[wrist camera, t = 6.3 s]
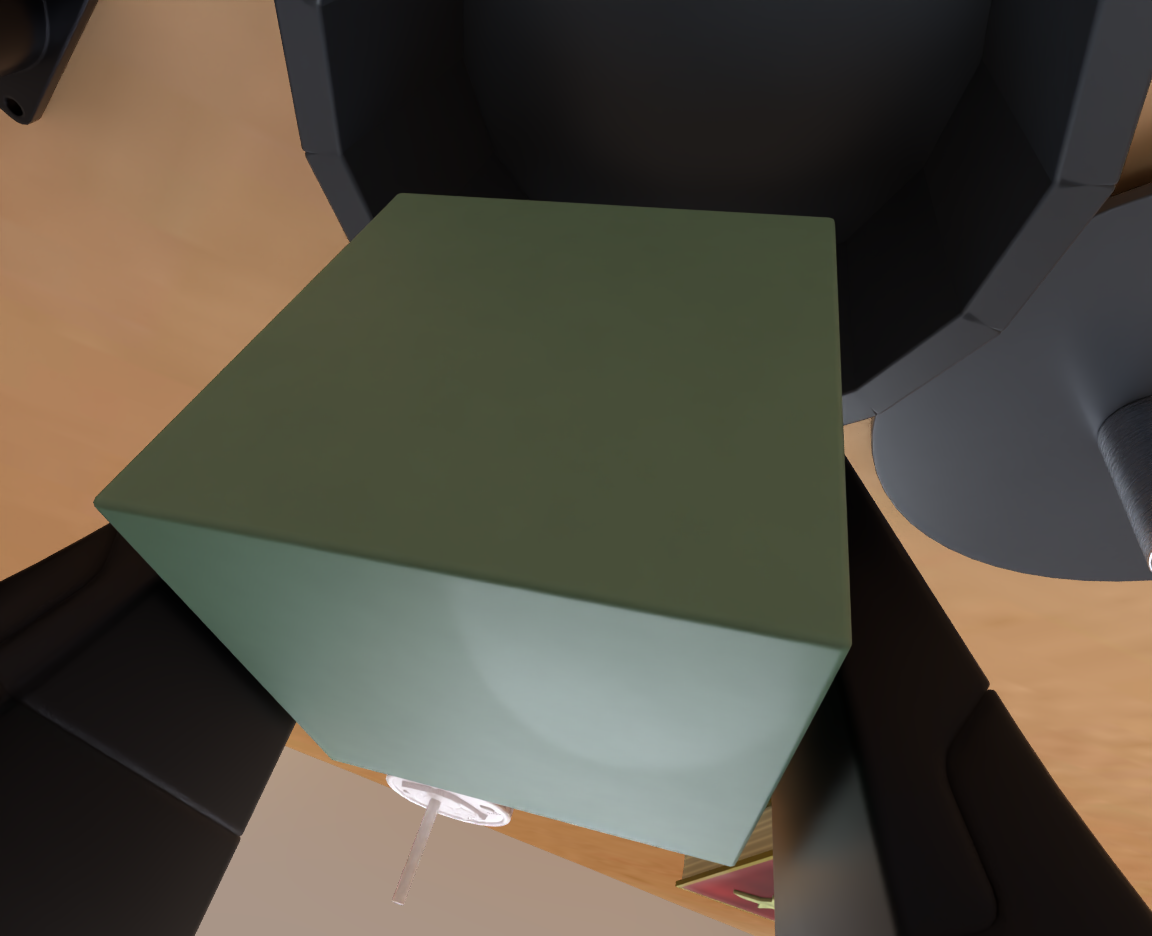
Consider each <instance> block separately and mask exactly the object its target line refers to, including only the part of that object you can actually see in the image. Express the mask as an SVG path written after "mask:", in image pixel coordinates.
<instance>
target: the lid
mask: <svg viewBox="0 0 1152 936" xmlns="http://www.w3.org/2000/svg"><path fill="white" fill-rule="evenodd" d="M871 447H872V455H873V460H874V465H875V469H876V473H877V476H878V478H879V480H880V482H881V485H882V487H883V489H884V491H885V493H886V494H887V496H888V497H889V499H890V500H891V502H892V503H893V504H894V506H895V507H896V509H897V510H898V511H899V512H900V513H901V514H902V515H903V516H904V517H905V518H906V519H907V520H908V521H909V522H910V523H911V524H912V525H914V526H915V527H916V528H917V529H919V530H920V531H921V532H923V533H924V534H925V535H927V536H928V537H930V538H931V539H933V540H935V541H936V542H938V543H940V544H942V545H943V546H945V547H947V548H948V549H951V550H953V551H955V552H958V553H960V554H962V555H964V556H967V557H969V558H971V559H974V560H977V561H980V562H983V563H986V564H989V565H992V566H995V567H999V568H1003V569H1008V570H1012V571H1016V572H1020V573H1025V574H1031V575H1038V576H1044V577H1050V578H1059V579H1071V580H1082V581H1145V580H1152V183H1149V184H1146V185H1143V186H1141V187H1138V188H1135V189H1132V190H1129V191H1127V192H1124V193H1121V194H1118V195H1115V196H1113V197H1110V198H1108V199H1107V200H1106V201H1105V203H1104V204H1103V205H1102V207H1101V208H1100V209H1099V210H1098V212H1097V213H1096V214H1095V215H1094V217H1093V218H1092V219H1091V221H1090V222H1089V223H1088V224H1087V226H1086V227H1085V228H1084V229H1083V231H1082V232H1081V233H1080V235H1079V236H1078V237H1077V238H1076V240H1075V241H1074V242H1073V243H1072V245H1071V246H1070V247H1069V249H1068V250H1067V251H1066V252H1065V254H1064V255H1063V256H1062V257H1061V259H1060V260H1059V261H1058V263H1057V264H1056V265H1055V266H1054V268H1053V269H1052V270H1051V271H1050V273H1049V274H1048V275H1047V277H1046V278H1045V279H1044V280H1043V282H1042V283H1041V284H1040V285H1039V287H1038V288H1037V289H1036V291H1035V292H1034V293H1033V294H1032V296H1031V297H1030V298H1029V299H1028V301H1027V302H1026V303H1025V305H1024V306H1023V307H1022V308H1021V310H1020V311H1019V312H1018V313H1017V315H1016V316H1015V317H1014V319H1013V320H1012V321H1011V322H1010V324H1009V325H1008V326H1007V327H1006V329H1005V330H1004V331H1001V333H1000V335H998V336H997V337H995V338H994V339H992V340H991V341H989V342H988V343H986V344H985V345H983V346H982V347H980V348H979V349H977V350H976V351H974V352H973V353H971V354H970V355H968V356H967V357H965V358H964V359H962V360H961V361H959V362H958V363H956V364H955V365H953V366H952V367H950V368H949V369H947V370H946V371H944V372H943V373H941V374H940V375H938V376H937V377H935V378H934V379H932V380H931V381H929V382H928V383H926V384H925V385H923V386H922V387H920V388H919V389H917V390H916V391H914V392H913V393H911V394H910V395H908V396H907V397H905V398H904V399H902V400H901V401H899V402H898V403H896V404H895V405H893V406H892V407H890V408H889V409H887V410H886V411H884V412H883V413H881V414H877V415H876V416H874V417H872V421H871Z"/></svg>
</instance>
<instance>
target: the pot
mask: <svg viewBox="0 0 1152 936" xmlns="http://www.w3.org/2000/svg"><path fill="white" fill-rule="evenodd" d="M274 2H275V7H276V13H277V18H278V23H279V29H280V34H281V39H282V45H283V50H284V55H285V61H286V66H287V71H288V77H289V82H290V87H291V92H292V98H293V103H294V108H295V114H296V119H297V124H298V130H299V135H300V140H301V146H302V149H303V150H304V151H305V156H306V158H307V160H308V162H309V164H310V166H311V168H312V170H313V172H314V174H315V176H316V178H317V180H318V182H319V184H320V186H321V188H322V189H323V191H324V193H325V195H326V197H327V199H328V201H329V203H330V205H331V207H332V209H333V211H334V213H335V215H336V217H337V219H338V220H339V222H340V224H341V226H342V228H343V230H344V232H345V234H346V236H347V238H348V240H349V242H351V241H352V240H353V239H354V238H355V237H356V236H357V235H358V234H359V233H360V232H361V231H362V230H363V229H364V228H365V227H366V226H367V225H368V224H369V223H370V222H371V221H372V220H373V219H374V218H375V217H376V216H377V215H378V214H379V213H380V212H381V211H382V210H383V209H384V208H385V207H386V206H387V205H388V203H389V202H390V201H391V200H392V199H393V198H394V197H395V196H396V195H398V194H400V193H410V194H428V195H445V196H462V197H480V198H497V199H514V200H532V201H549V202H566V203H584V204H601V205H619V206H636V207H653V208H671V209H688V210H705V211H723V212H740V213H757V214H775V215H792V216H809V217H827V218H832V219H834V222H835V235H836V260H837V284H838V309H839V333H840V358H841V383H842V407H843V426H844V425H847V424H851V423H854V422H858V421H861V420H864V419H868V418H871V417H874V416H876V415H877V414H881V413H883V412H884V411H886V410H887V409H889V408H890V407H892V406H893V405H895V404H896V403H898V402H899V401H901V400H902V399H904V398H905V397H907V396H908V395H910V394H911V393H913V392H914V391H916V390H917V389H919V388H920V387H922V386H923V385H925V384H926V383H928V382H929V381H931V380H932V379H934V378H935V377H937V376H938V375H940V374H941V373H943V372H944V371H946V370H947V369H949V368H950V367H952V366H953V365H955V364H956V363H958V362H959V361H961V360H962V359H964V358H965V357H967V356H968V355H970V354H971V353H973V352H974V351H976V350H977V349H979V348H980V347H982V346H983V345H985V344H986V343H988V342H989V341H991V340H992V339H994V338H995V337H997V336H998V335H1000V333H1001V331H1004V330H1005V329H1006V327H1007V326H1008V325H1009V324H1010V322H1011V321H1012V320H1013V319H1014V317H1015V316H1016V315H1017V313H1018V312H1019V311H1020V310H1021V308H1022V307H1023V306H1024V305H1025V303H1026V302H1027V301H1028V299H1029V298H1030V297H1031V296H1032V294H1033V293H1034V292H1035V291H1036V289H1037V288H1038V287H1039V285H1040V284H1041V283H1042V282H1043V280H1044V279H1045V278H1046V277H1047V275H1048V274H1049V273H1050V271H1051V270H1052V269H1053V268H1054V266H1055V265H1056V264H1057V263H1058V261H1059V260H1060V259H1061V257H1062V256H1063V255H1064V254H1065V252H1066V251H1067V250H1068V249H1069V247H1070V246H1071V245H1072V243H1073V242H1074V241H1075V240H1076V238H1077V237H1078V236H1079V235H1080V233H1081V232H1082V231H1083V229H1084V228H1085V227H1086V226H1087V224H1088V223H1089V222H1090V221H1091V219H1092V218H1093V217H1094V215H1095V214H1096V213H1097V212H1098V210H1099V209H1100V208H1101V207H1102V205H1103V204H1104V203H1105V201H1106V200H1107V199H1108V198H1109V196H1110V195H1111V194H1112V193H1113V191H1114V190H1115V187H1116V186H1115V184H1117V183H1118V181H1119V179H1120V176H1121V173H1122V170H1123V167H1124V164H1125V161H1126V157H1127V154H1128V151H1129V148H1130V145H1131V142H1132V139H1133V136H1134V133H1135V129H1136V126H1137V123H1138V120H1139V117H1140V114H1141V111H1142V108H1143V105H1144V101H1145V98H1146V95H1147V92H1148V89H1149V86H1150V83H1151V80H1152V0H274Z"/></svg>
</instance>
